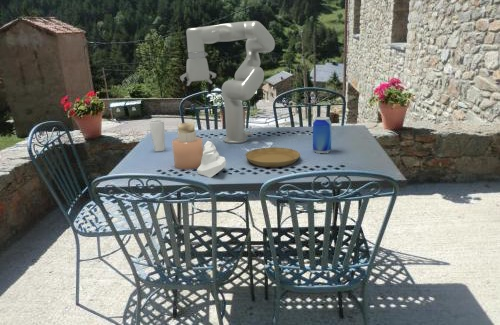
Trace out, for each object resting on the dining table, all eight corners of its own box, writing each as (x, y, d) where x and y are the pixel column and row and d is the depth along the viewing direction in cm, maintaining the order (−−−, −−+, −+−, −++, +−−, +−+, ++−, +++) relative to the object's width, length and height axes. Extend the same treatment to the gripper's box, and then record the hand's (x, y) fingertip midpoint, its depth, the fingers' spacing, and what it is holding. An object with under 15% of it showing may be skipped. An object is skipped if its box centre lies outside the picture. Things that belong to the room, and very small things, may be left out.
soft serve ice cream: (194, 182, 170) (184, 148, 168) (206, 173, 184) (196, 142, 182) (223, 175, 167) (213, 140, 165) (232, 166, 181) (223, 134, 179)
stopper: (193, 136, 189) (192, 122, 187) (197, 139, 183) (195, 125, 181) (177, 138, 186) (176, 123, 185) (180, 141, 180) (179, 126, 178)
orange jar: (199, 158, 196) (197, 126, 191) (207, 166, 184) (205, 132, 180) (171, 162, 192) (168, 130, 187) (177, 170, 180) (174, 136, 175)
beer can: (332, 149, 201) (333, 116, 196) (328, 154, 194) (328, 120, 189) (315, 148, 205) (315, 115, 200) (310, 153, 197) (310, 119, 193)
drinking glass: (163, 152, 208) (160, 122, 204) (150, 152, 210) (147, 122, 205) (168, 148, 215) (165, 119, 210) (156, 148, 216) (153, 119, 212)
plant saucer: (286, 151, 204) (285, 144, 203) (309, 164, 182) (309, 157, 181) (238, 157, 196) (238, 150, 195) (257, 172, 174) (257, 165, 173)
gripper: (212, 54, 202) (214, 90, 208) (176, 56, 196) (180, 93, 202) (216, 54, 196) (219, 92, 201) (179, 57, 190) (183, 95, 195)
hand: (199, 93), depth 201 cm, fingers open, 9 cm apart
